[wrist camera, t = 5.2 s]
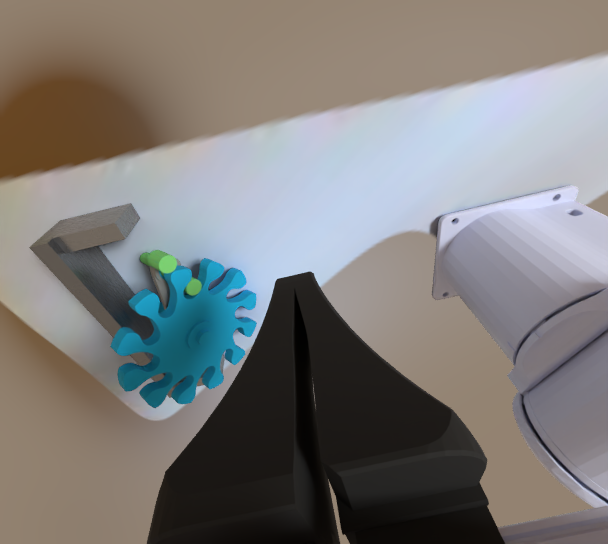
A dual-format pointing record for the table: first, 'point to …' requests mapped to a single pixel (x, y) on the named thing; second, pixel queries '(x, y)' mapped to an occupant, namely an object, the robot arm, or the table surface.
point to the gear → (184, 328)
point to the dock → (98, 271)
